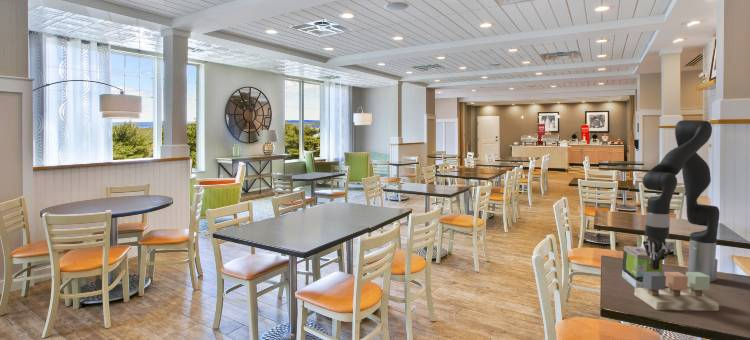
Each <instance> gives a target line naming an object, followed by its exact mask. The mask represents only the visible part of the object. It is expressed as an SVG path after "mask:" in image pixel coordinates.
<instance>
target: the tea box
mask: <svg viewBox="0 0 750 340" xmlns="http://www.w3.org/2000/svg"><path fill="white" fill-rule="evenodd" d="M622 254H623V255H622V273H621V277H622V278H623V279H624V280H625V281H626V282H628V283H629V284H630V285H631V286H632V287H634V289H635V288H648V287H646V286H644V285H643V272H659V273H661V274H663V263H664V260H660V263H659V269H658V270H654V269H652V268H651V259H650V256H648V255H647V253H646V250H645V247H644V246H634V245H633V246H632V245H631V246H630V245H624V246H623V253H622Z"/></svg>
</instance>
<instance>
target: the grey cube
mask: <svg viewBox="0 0 750 340" xmlns="http://www.w3.org/2000/svg"><path fill="white" fill-rule="evenodd" d="M643 285H644V286H646V287H648V288H649V289H651V290H665V288H666V286H665V285H666V276H664V274H663V273H662V274H661V273H659V272H643Z"/></svg>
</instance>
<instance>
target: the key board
mask: <svg viewBox="0 0 750 340" xmlns="http://www.w3.org/2000/svg"><path fill="white" fill-rule="evenodd" d="M634 296H635V297H637V298H638V299H640V300H641V301H643V302H644V303H646V304H647V305H648V306H650V307H652V308H653V309H655V310H657V311H660V310H661V311H707V312H708V311H714V312H715V311H717V312H718V311H719V308H720V303H719V301H717V300H716V299H712V298H711V297H708V296H707V295H705V294H703V290H694V289H692V288H690V287H687V290H672V289H671V288H669V287H665V290H651V289H649V288H635V287H634Z"/></svg>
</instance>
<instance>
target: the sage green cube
mask: <svg viewBox="0 0 750 340" xmlns="http://www.w3.org/2000/svg"><path fill="white" fill-rule="evenodd" d="M685 275H686V276H688V284H687V288H692V289H694V290H702V291H710V283H711V282H710V277H709V276H707V275H705V274H703V273H701V272H688V271H686V272H685Z"/></svg>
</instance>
